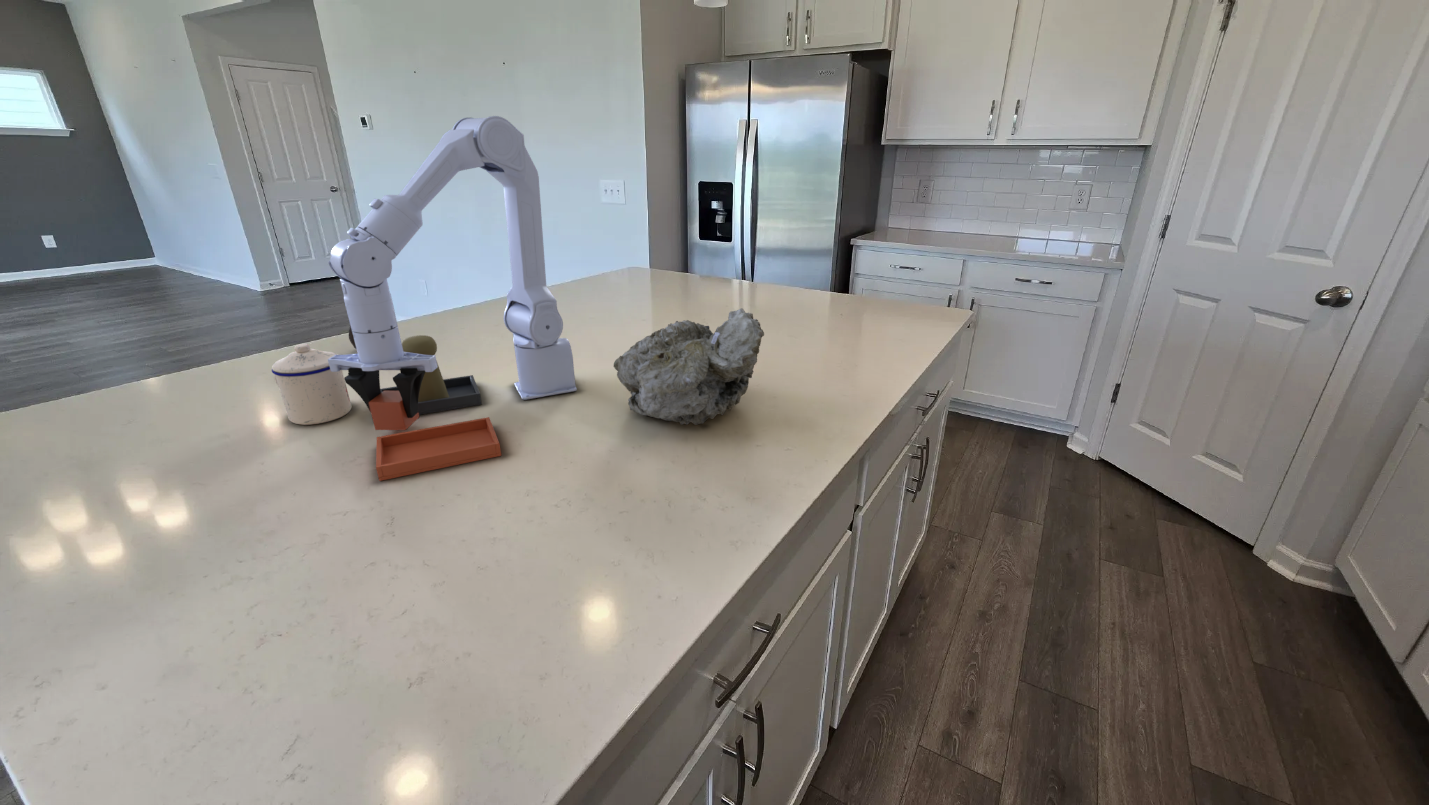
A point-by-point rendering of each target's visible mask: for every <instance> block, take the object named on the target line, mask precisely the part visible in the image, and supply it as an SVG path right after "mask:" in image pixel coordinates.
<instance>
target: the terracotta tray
mask: <svg viewBox="0 0 1429 805" xmlns="http://www.w3.org/2000/svg"><path fill="white" fill-rule="evenodd" d="M375 448H376V449H375V450H376V451H375V453H376V454H375V470H376V473H377V477H378V481H379V482H381V481H382V482H383V481H387V480H390V479H391V480H392V479H395V478H402V477H405V476H406V477H407V476H410V475H415V474H420V473H424V472H430V471H435V470H439V469H444V468H449V467H454V466H458V465H463V464H464V465H465V464H468V463H473V462H478V461H483V460H487V459H492V458H498V457H501V456H502V451H501V443H500V441H499V439H498V436H497V434H496V431H495V428H494V426H493V422H492V421H491V418H490V417H489V416H487V417H482V418H477V419H476V418H475V419H470V420H466V421H459V422H458V421H457V422H454V423H448V424H442V425H436V426H431V427H426V428H420V429H414V430H409V431H404V432H398V433H392V434H386V435H381V436H377V437H376V446H375Z"/></svg>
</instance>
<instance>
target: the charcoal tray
mask: <svg viewBox="0 0 1429 805" xmlns="http://www.w3.org/2000/svg"><path fill="white" fill-rule="evenodd" d="M443 380H444V383H445V386H446V389H447V392H448V395H449V397H448V398H442V399H436V400H429V401H423V402H418V413H419V416H421V415H427V414H433V413H438V412H444V411H450V410H456V409H462V408H463V409H464V408H469V407H475V406H480V405H483V404H482V397H481V392H480V389H479V388H478V387H479V386H478V385H477V382H476V379H475V377H474V374H473V375H471V374H470V375H464V376H458V377H457V376H456V377H451V378H443ZM380 390H381V393H382V392H383V391H399V390H398V388H397V386H396V385H395V386H390V387H382V388H380Z"/></svg>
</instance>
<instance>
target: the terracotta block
mask: <svg viewBox="0 0 1429 805" xmlns="http://www.w3.org/2000/svg"><path fill="white" fill-rule="evenodd" d="M369 407H370V410H369V412H370V411H371V412H370V414H371V418H372V422H373V426H374V430H375V431H407V429H409V428H410V427H411V426H412V425H413V424H414V423H415V422H416V421H417V420H418V419H419V418H420V415H419V413H417V414H416V415H415V416H414V417H413V418H408V417H407V415H406V412H405V409H404V405H403V400H402V397H401V395H400V392H399V391H383V392H382V393H380V394H379V395H378V396H376V397H375V398H374V399H372V400H371V401H370V402H369Z"/></svg>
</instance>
